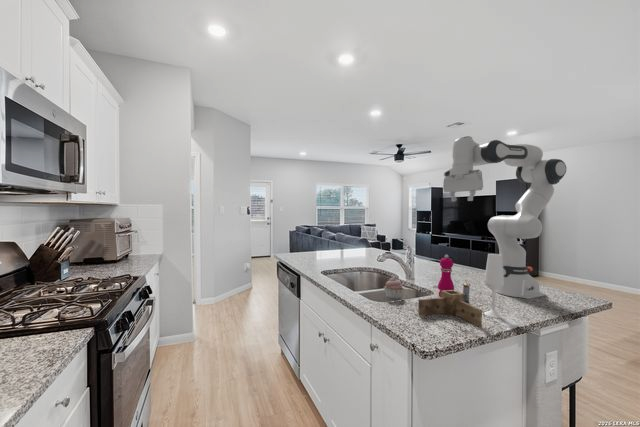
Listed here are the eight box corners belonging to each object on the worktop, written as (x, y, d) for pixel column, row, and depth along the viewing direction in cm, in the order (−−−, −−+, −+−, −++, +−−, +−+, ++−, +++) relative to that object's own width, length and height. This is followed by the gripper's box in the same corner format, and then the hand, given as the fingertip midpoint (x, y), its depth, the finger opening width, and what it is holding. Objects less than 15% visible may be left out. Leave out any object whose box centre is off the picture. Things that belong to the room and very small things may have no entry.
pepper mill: (450, 294, 143) (451, 253, 143) (456, 298, 136) (457, 256, 136) (435, 293, 144) (436, 253, 144) (440, 298, 137) (441, 255, 136)
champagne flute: (505, 318, 112) (507, 256, 111) (486, 316, 114) (487, 255, 113) (500, 312, 118) (501, 253, 118) (482, 310, 120) (483, 252, 120)
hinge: (444, 330, 100) (444, 307, 100) (414, 312, 118) (415, 292, 118) (487, 325, 105) (487, 303, 105) (452, 308, 122) (453, 289, 122)
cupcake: (398, 302, 130) (398, 280, 130) (379, 298, 136) (380, 276, 136) (407, 297, 137) (407, 276, 137) (389, 293, 143) (389, 273, 143)
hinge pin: (466, 301, 132) (466, 283, 132) (471, 304, 129) (471, 284, 129) (460, 302, 131) (461, 283, 131) (465, 304, 128) (466, 285, 128)
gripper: (487, 169, 128) (486, 200, 128) (451, 174, 147) (450, 201, 147) (476, 168, 126) (475, 200, 126) (441, 173, 145) (440, 201, 145)
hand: (461, 201), depth 137 cm, fingers open, 8 cm apart
